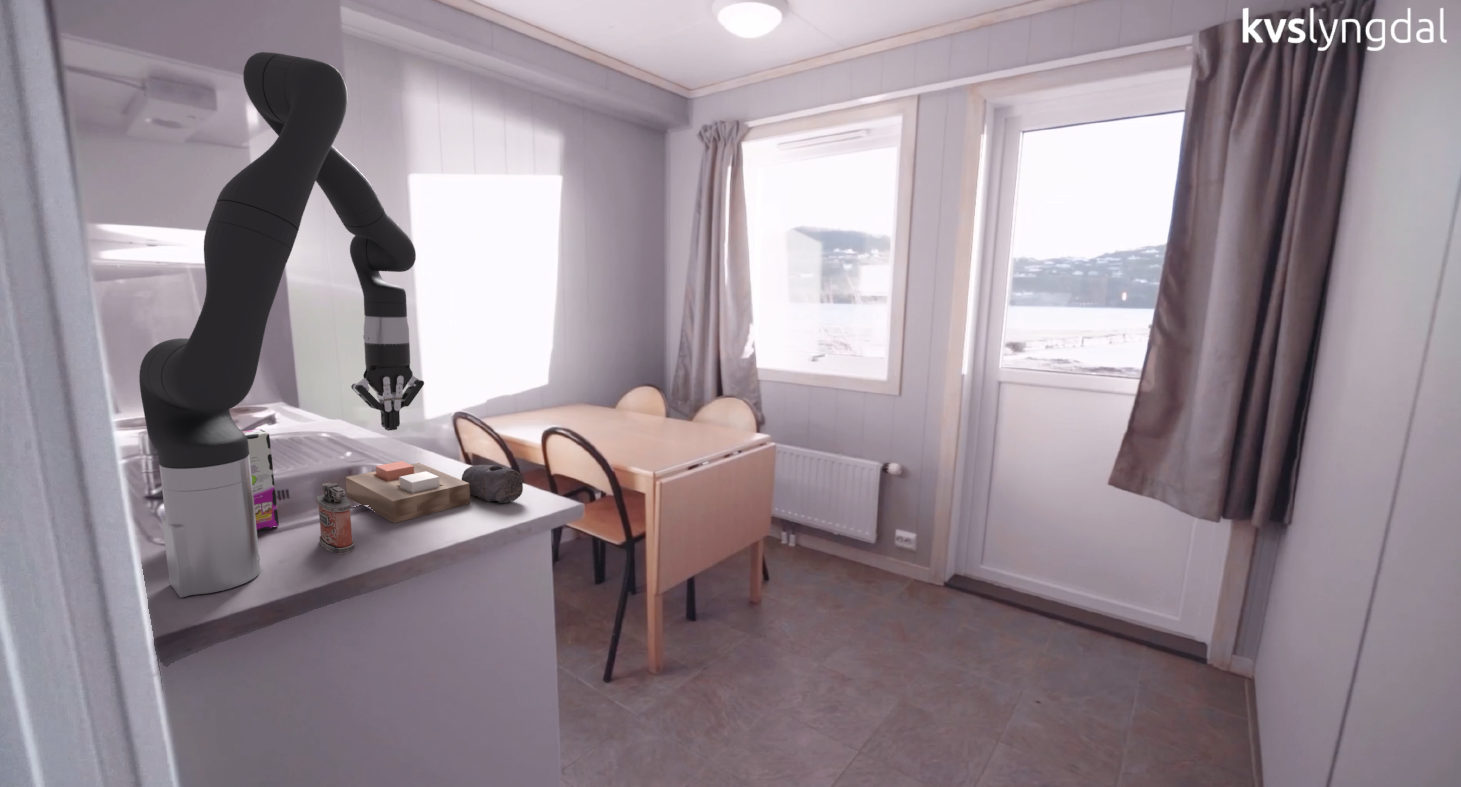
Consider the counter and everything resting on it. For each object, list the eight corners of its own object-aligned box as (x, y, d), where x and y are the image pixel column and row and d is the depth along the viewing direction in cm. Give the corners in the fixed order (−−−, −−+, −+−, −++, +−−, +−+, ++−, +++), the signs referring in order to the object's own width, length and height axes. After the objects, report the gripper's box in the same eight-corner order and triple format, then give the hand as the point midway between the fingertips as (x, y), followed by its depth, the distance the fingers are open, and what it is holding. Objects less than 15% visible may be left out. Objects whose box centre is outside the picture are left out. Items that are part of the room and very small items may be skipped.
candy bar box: (269, 520, 106) (261, 427, 104) (279, 527, 103) (271, 432, 101) (185, 539, 97) (173, 438, 95) (194, 547, 95) (182, 444, 92)
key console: (394, 523, 107) (392, 501, 106) (347, 496, 119) (345, 476, 118) (470, 503, 118) (469, 483, 117) (419, 481, 130) (419, 462, 129)
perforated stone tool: (453, 494, 122) (451, 461, 121) (475, 488, 127) (474, 455, 126) (503, 510, 115) (503, 474, 114) (526, 502, 119) (525, 468, 118)
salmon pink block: (388, 491, 118) (387, 471, 117) (376, 485, 121) (375, 466, 120) (414, 485, 121) (413, 466, 121) (403, 480, 124) (402, 461, 124)
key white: (413, 503, 112) (411, 482, 111) (400, 497, 115) (399, 476, 114) (440, 497, 115) (439, 476, 115) (427, 491, 118) (426, 471, 118)
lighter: (314, 541, 98) (310, 481, 97) (338, 535, 101) (333, 477, 99) (335, 555, 93) (330, 493, 92) (359, 549, 96) (355, 487, 95)
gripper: (357, 343, 109) (362, 438, 112) (431, 341, 119) (434, 427, 122) (340, 340, 113) (345, 431, 116) (412, 338, 124) (416, 422, 127)
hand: (391, 429), depth 119 cm, fingers closed
